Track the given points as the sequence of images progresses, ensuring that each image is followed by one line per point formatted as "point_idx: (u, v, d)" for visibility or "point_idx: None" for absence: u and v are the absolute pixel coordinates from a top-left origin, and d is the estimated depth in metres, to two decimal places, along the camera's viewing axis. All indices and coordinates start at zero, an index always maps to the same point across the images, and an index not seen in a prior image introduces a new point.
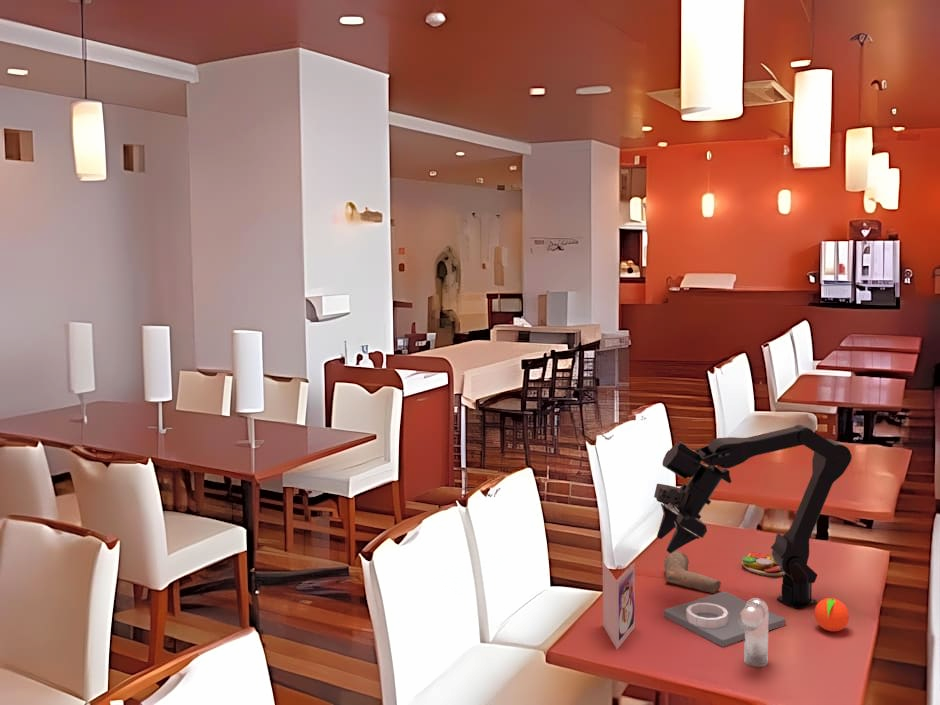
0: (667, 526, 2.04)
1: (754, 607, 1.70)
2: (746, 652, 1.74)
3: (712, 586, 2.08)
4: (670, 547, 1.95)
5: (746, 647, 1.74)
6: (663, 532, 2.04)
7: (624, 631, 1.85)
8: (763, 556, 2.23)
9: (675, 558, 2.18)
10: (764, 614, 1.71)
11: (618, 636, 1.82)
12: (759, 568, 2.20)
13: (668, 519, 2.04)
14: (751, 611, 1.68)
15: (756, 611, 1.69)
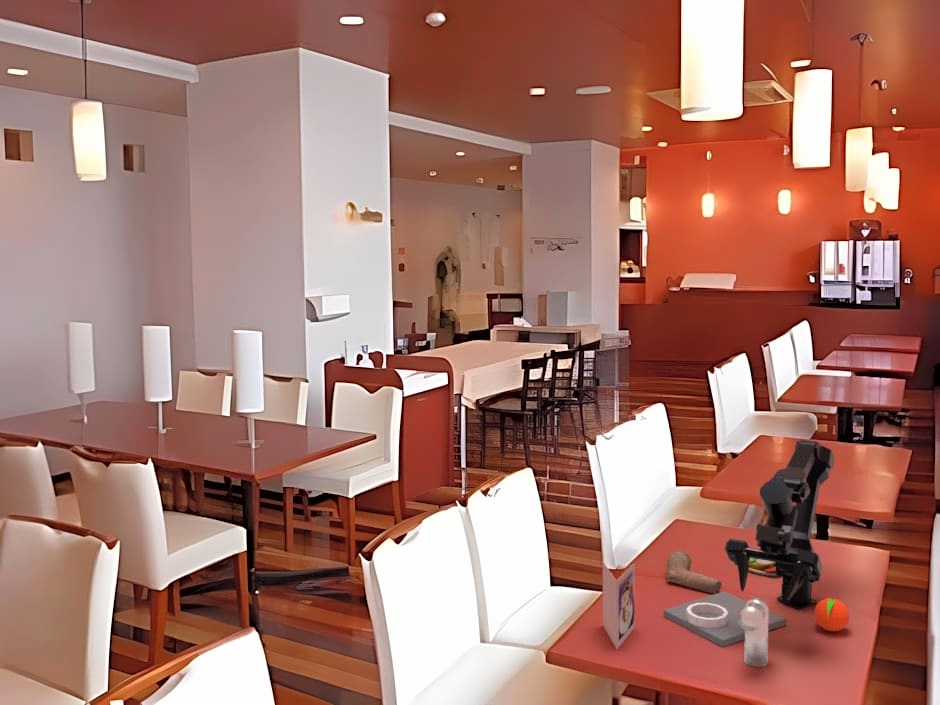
0: (745, 575, 1.82)
1: (754, 607, 1.70)
2: (746, 652, 1.74)
3: (712, 586, 2.07)
4: (790, 593, 1.75)
5: (746, 647, 1.74)
6: (744, 583, 1.81)
7: (624, 631, 1.85)
8: None
9: (677, 558, 2.18)
10: (764, 614, 1.71)
11: (618, 636, 1.82)
12: (759, 568, 2.20)
13: (744, 567, 1.83)
14: (751, 611, 1.68)
15: (756, 611, 1.69)
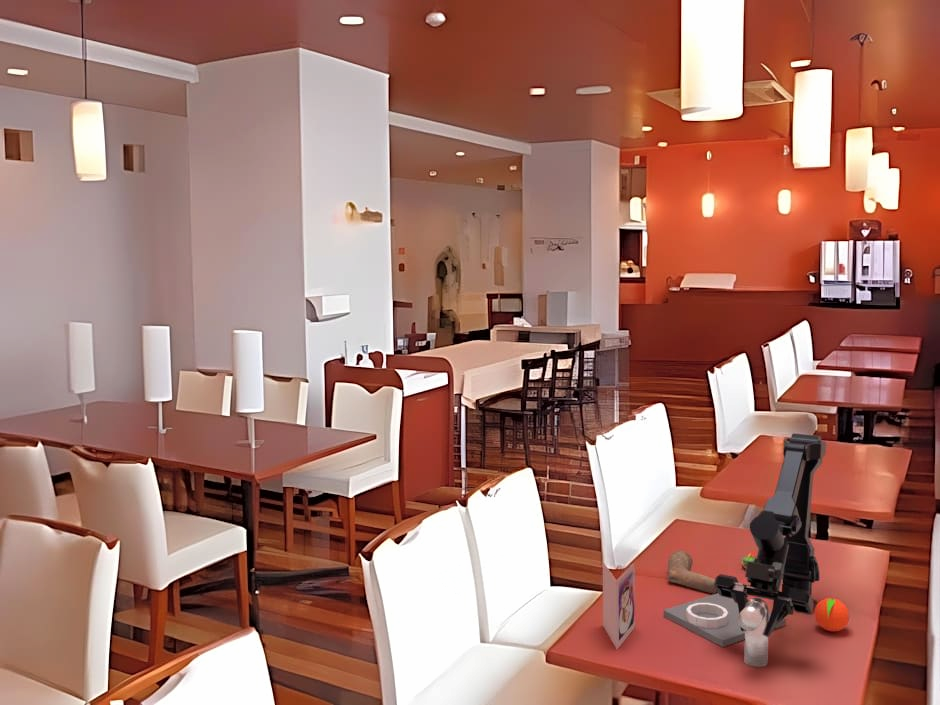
0: None
1: (754, 607, 1.70)
2: (746, 652, 1.74)
3: (713, 587, 2.07)
4: (769, 629, 1.71)
5: (746, 647, 1.74)
6: None
7: (624, 631, 1.85)
8: None
9: (678, 558, 2.18)
10: (764, 614, 1.71)
11: (618, 636, 1.82)
12: None
13: None
14: (751, 611, 1.68)
15: (756, 611, 1.69)
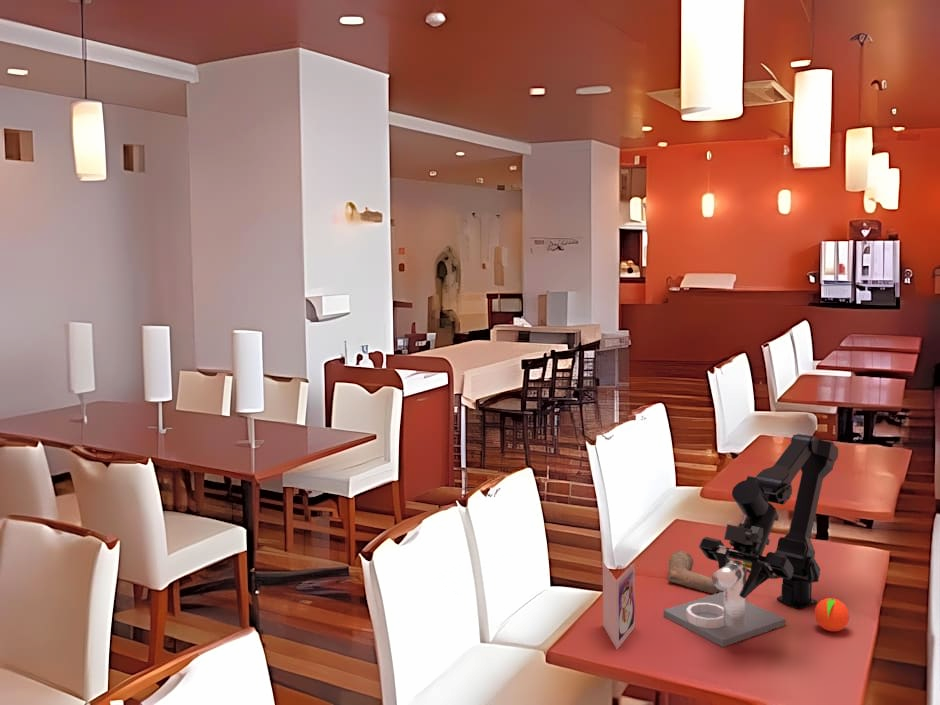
0: None
1: (729, 568, 1.74)
2: (724, 612, 1.79)
3: (713, 587, 2.07)
4: (745, 591, 1.76)
5: (724, 607, 1.79)
6: None
7: (624, 631, 1.85)
8: None
9: (679, 558, 2.18)
10: (740, 576, 1.75)
11: (618, 636, 1.82)
12: None
13: None
14: (724, 571, 1.73)
15: (730, 571, 1.74)
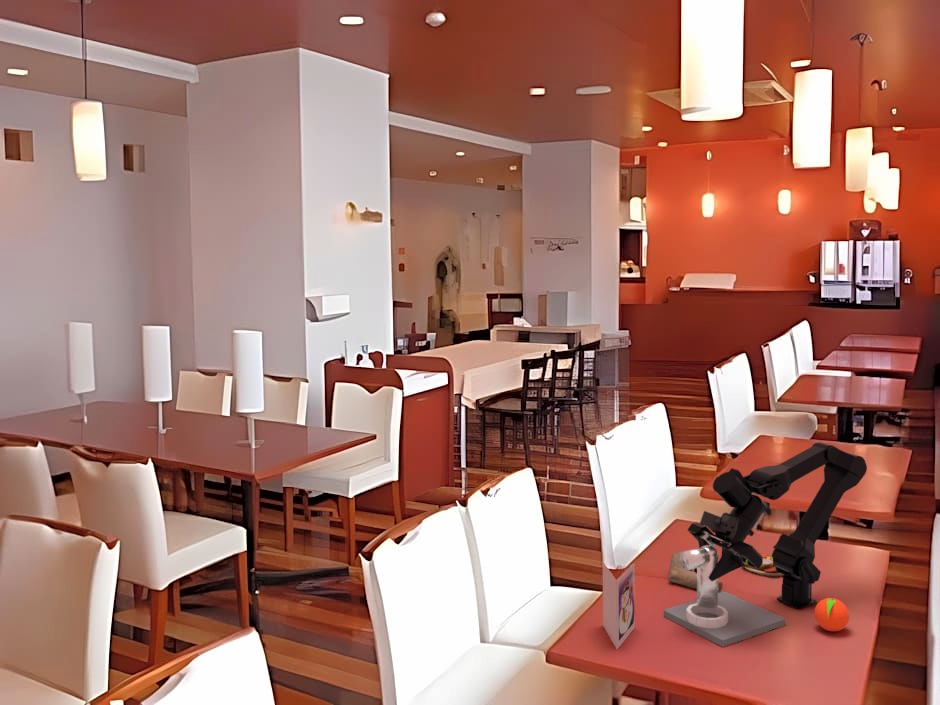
0: None
1: (696, 551, 1.87)
2: (697, 592, 1.91)
3: None
4: (713, 575, 1.87)
5: (697, 588, 1.91)
6: None
7: (624, 631, 1.85)
8: (763, 556, 2.23)
9: (679, 558, 2.18)
10: (707, 559, 1.86)
11: (618, 636, 1.82)
12: (759, 568, 2.20)
13: None
14: (688, 552, 1.86)
15: (695, 553, 1.86)
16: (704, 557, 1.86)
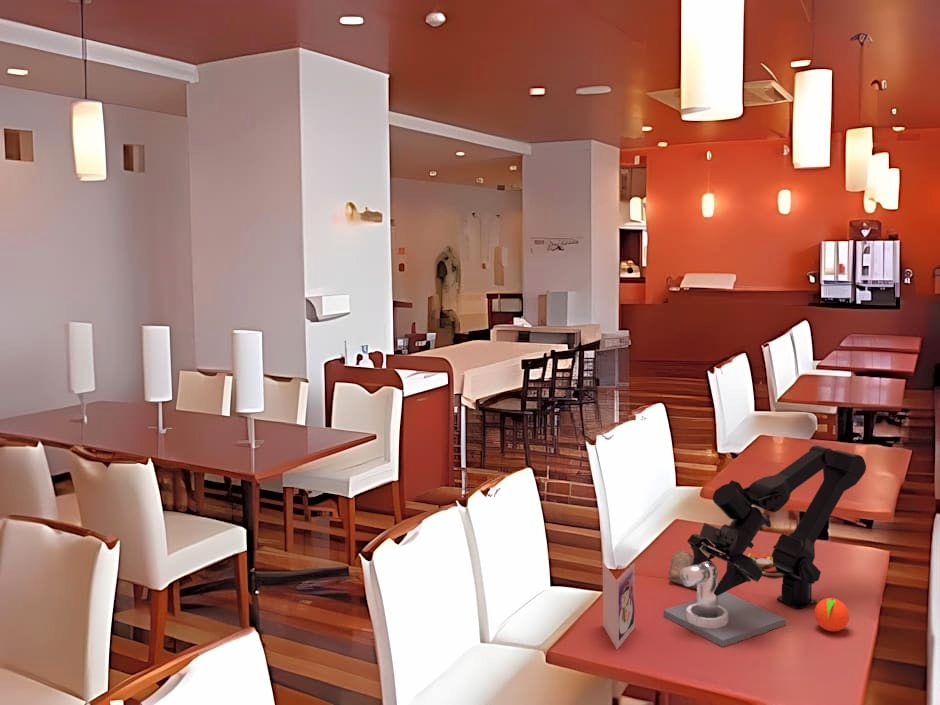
0: None
1: (696, 567, 1.87)
2: (697, 608, 1.91)
3: None
4: (718, 589, 1.85)
5: (697, 604, 1.91)
6: None
7: (624, 631, 1.85)
8: (763, 556, 2.23)
9: (680, 558, 2.18)
10: (707, 575, 1.87)
11: (618, 636, 1.82)
12: None
13: (700, 562, 1.94)
14: (688, 569, 1.86)
15: (695, 570, 1.86)
16: (704, 573, 1.87)
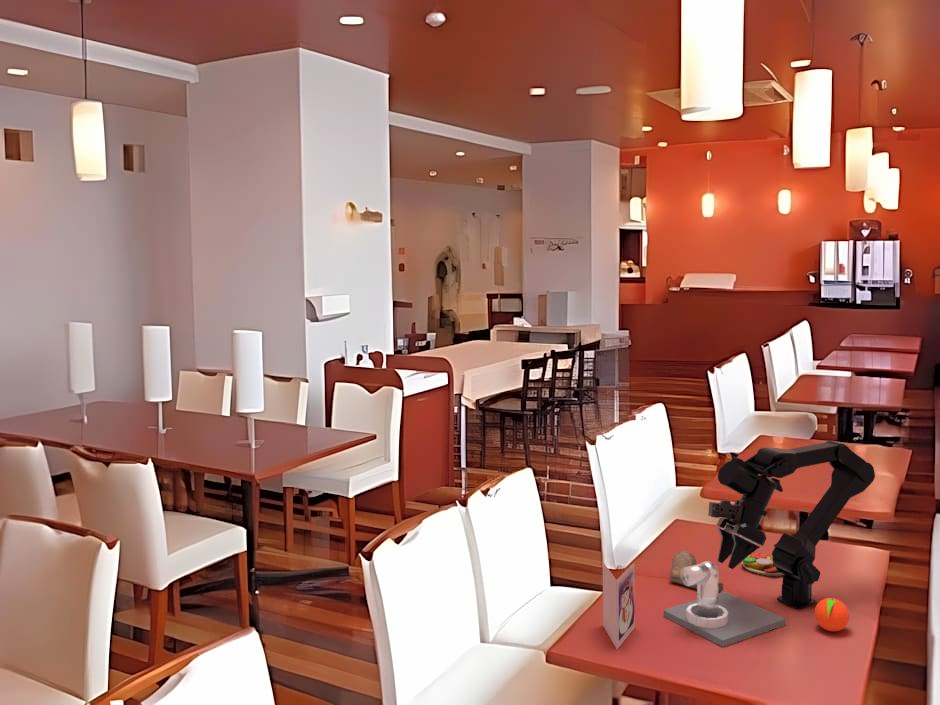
0: (727, 548, 1.98)
1: (696, 567, 1.87)
2: (697, 608, 1.91)
3: None
4: (731, 562, 1.88)
5: (697, 604, 1.91)
6: (723, 556, 1.98)
7: (624, 631, 1.85)
8: (763, 556, 2.23)
9: (681, 558, 2.18)
10: (708, 575, 1.87)
11: (618, 636, 1.82)
12: (759, 568, 2.20)
13: (727, 541, 1.98)
14: (689, 568, 1.86)
15: (696, 569, 1.86)
16: (704, 573, 1.87)
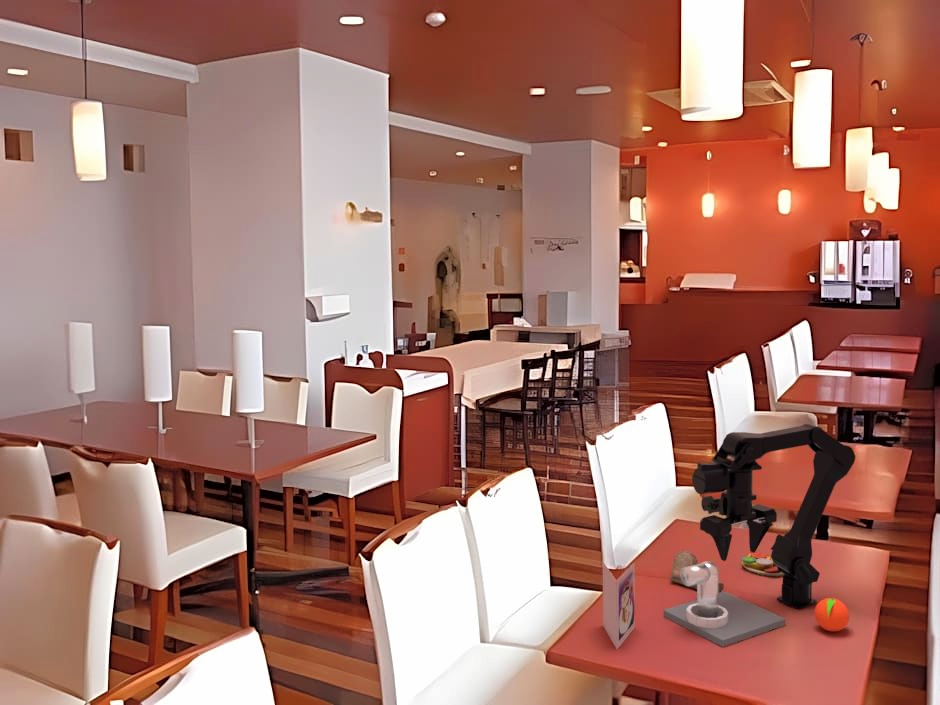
0: (754, 537, 1.98)
1: (696, 567, 1.87)
2: (697, 608, 1.91)
3: None
4: (721, 555, 1.94)
5: (697, 604, 1.91)
6: (752, 545, 1.99)
7: (624, 631, 1.85)
8: (763, 556, 2.23)
9: (682, 558, 2.18)
10: (707, 575, 1.87)
11: (618, 636, 1.82)
12: (759, 568, 2.20)
13: (753, 530, 1.99)
14: (689, 568, 1.86)
15: (695, 569, 1.86)
16: (704, 573, 1.87)
